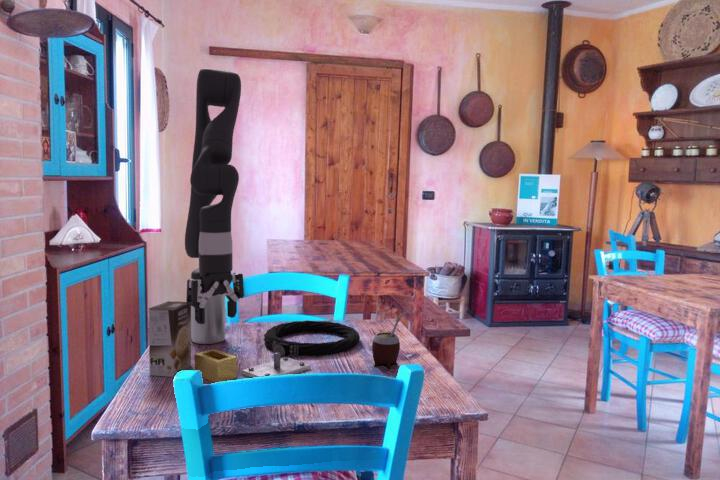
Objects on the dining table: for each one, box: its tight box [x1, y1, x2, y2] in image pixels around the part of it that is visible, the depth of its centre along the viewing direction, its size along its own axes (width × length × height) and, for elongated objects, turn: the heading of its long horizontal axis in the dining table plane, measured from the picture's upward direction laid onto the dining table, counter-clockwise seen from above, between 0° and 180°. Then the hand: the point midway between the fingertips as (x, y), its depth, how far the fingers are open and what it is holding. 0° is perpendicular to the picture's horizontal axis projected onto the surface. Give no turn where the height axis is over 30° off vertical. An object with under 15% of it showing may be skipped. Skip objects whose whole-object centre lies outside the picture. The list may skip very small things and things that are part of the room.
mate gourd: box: [371, 310, 410, 371], centre depth 140 cm, size 8×8×15 cm
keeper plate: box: [241, 352, 311, 378], centre depth 135 cm, size 14×9×4 cm, turn 140°
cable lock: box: [263, 320, 361, 358], centre depth 159 cm, size 28×4×30 cm
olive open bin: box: [194, 348, 238, 383], centre depth 131 cm, size 9×5×5 cm, turn 50°
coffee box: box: [148, 300, 192, 378], centre depth 134 cm, size 9×6×16 cm
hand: (216, 320), depth 130 cm, fingers open, 8 cm apart
